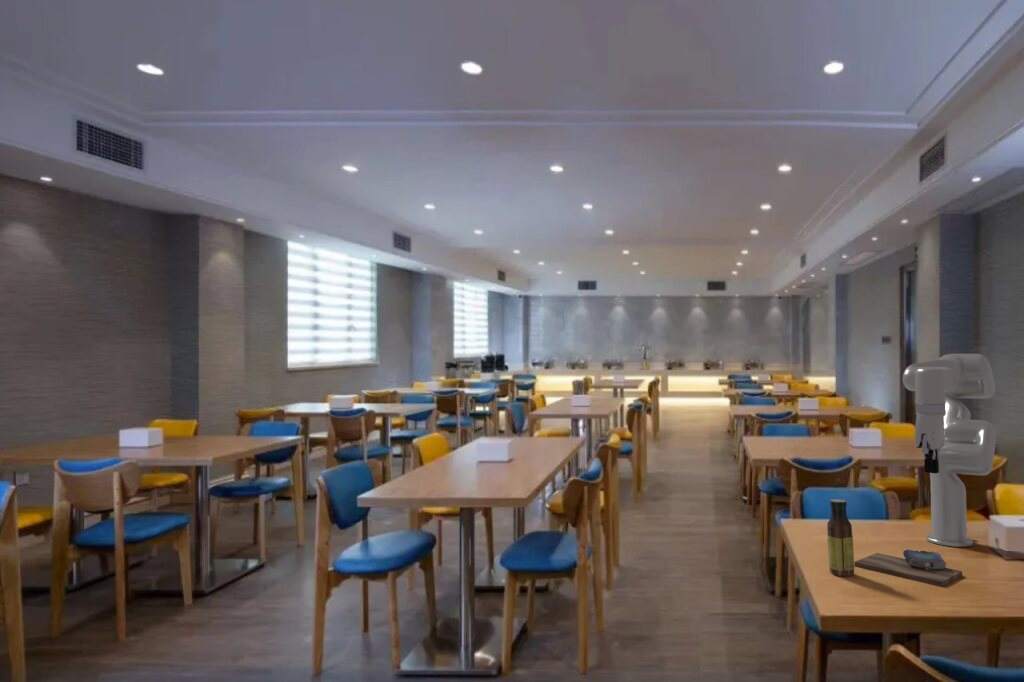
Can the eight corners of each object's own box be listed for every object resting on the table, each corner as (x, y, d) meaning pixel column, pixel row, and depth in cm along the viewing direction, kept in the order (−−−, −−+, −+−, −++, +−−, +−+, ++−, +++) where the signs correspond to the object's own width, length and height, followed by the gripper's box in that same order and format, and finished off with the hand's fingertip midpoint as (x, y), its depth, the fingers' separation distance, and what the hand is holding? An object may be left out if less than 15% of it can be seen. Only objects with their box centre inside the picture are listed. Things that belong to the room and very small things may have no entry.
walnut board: (876, 556, 199) (876, 552, 199) (962, 575, 182) (962, 571, 182) (854, 566, 190) (854, 561, 190) (942, 586, 173) (941, 581, 173)
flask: (940, 552, 190) (947, 562, 180) (940, 562, 190) (947, 573, 180) (902, 548, 193) (907, 558, 184) (902, 558, 193) (907, 569, 184)
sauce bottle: (852, 571, 185) (851, 498, 186) (856, 578, 179) (855, 503, 180) (826, 569, 187) (825, 497, 188) (829, 576, 181) (828, 501, 182)
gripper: (926, 408, 206) (927, 468, 205) (906, 410, 197) (907, 473, 196) (954, 409, 200) (955, 471, 200) (934, 411, 191) (935, 477, 190)
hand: (931, 472), depth 198 cm, fingers closed
